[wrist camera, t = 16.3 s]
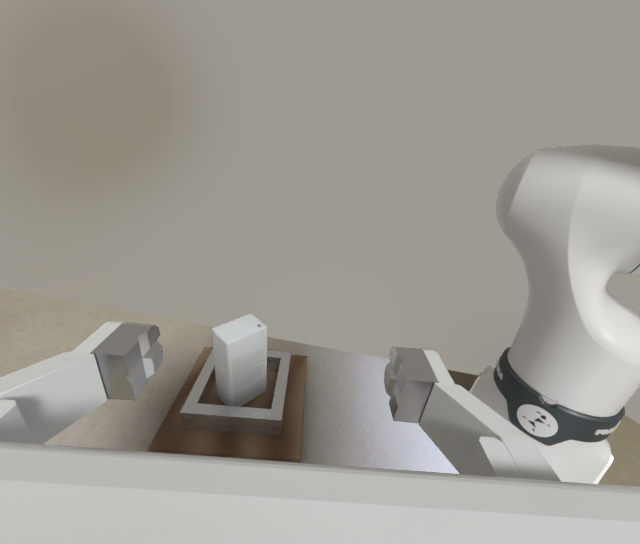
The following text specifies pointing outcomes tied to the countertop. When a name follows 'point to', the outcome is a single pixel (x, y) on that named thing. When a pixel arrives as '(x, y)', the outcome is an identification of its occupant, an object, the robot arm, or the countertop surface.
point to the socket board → (238, 415)
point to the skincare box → (240, 359)
